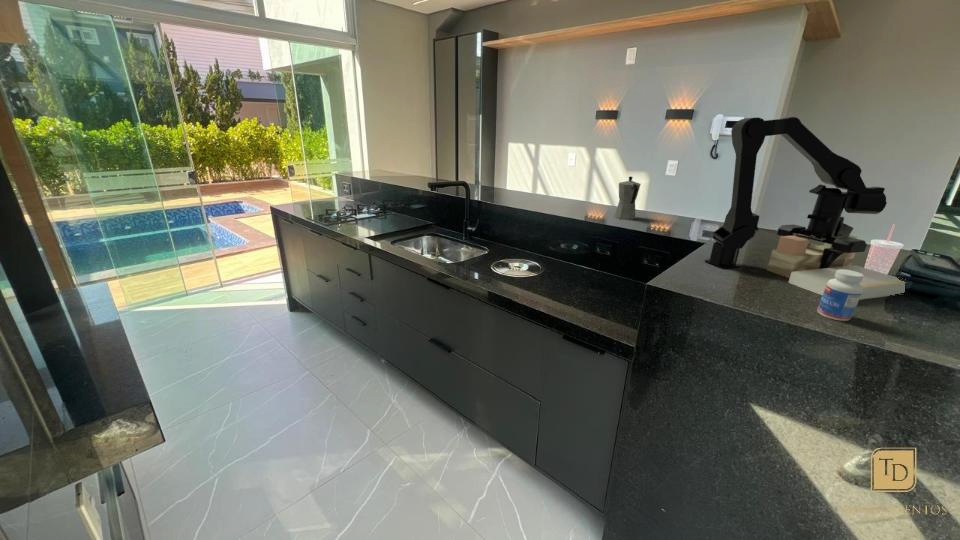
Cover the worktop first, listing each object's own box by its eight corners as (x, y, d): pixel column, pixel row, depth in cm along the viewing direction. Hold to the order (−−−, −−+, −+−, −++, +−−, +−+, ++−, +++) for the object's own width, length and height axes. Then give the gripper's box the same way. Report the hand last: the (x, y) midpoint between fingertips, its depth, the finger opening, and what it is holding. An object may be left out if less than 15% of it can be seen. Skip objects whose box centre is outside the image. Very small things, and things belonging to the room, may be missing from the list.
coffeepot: (609, 214, 174) (615, 174, 167) (630, 214, 173) (636, 175, 167) (620, 221, 159) (626, 178, 153) (642, 222, 159) (649, 179, 153)
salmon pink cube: (792, 255, 97) (797, 240, 96) (776, 250, 101) (780, 236, 100) (804, 254, 98) (809, 240, 97) (787, 249, 102) (791, 235, 101)
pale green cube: (841, 251, 101) (846, 237, 100) (823, 246, 106) (827, 232, 104) (851, 250, 102) (857, 236, 101) (833, 245, 106) (838, 232, 105)
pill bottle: (809, 310, 81) (824, 267, 78) (832, 309, 81) (848, 267, 78) (834, 322, 76) (851, 277, 72) (858, 321, 76) (876, 277, 73)
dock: (840, 302, 85) (845, 289, 84) (788, 282, 96) (791, 271, 95) (908, 293, 90) (913, 281, 89) (851, 275, 101) (855, 264, 100)
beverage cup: (897, 278, 99) (919, 227, 94) (870, 277, 100) (890, 226, 95) (878, 270, 105) (898, 221, 100) (853, 269, 106) (871, 220, 101)
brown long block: (789, 278, 99) (796, 256, 97) (766, 270, 104) (772, 249, 102) (848, 272, 104) (856, 251, 101) (822, 264, 109) (829, 244, 107)
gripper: (893, 218, 92) (869, 277, 97) (812, 204, 109) (796, 255, 114) (860, 220, 89) (837, 280, 94) (783, 205, 106) (767, 258, 111)
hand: (808, 267), depth 104 cm, fingers closed on brown long block, 6 cm apart
